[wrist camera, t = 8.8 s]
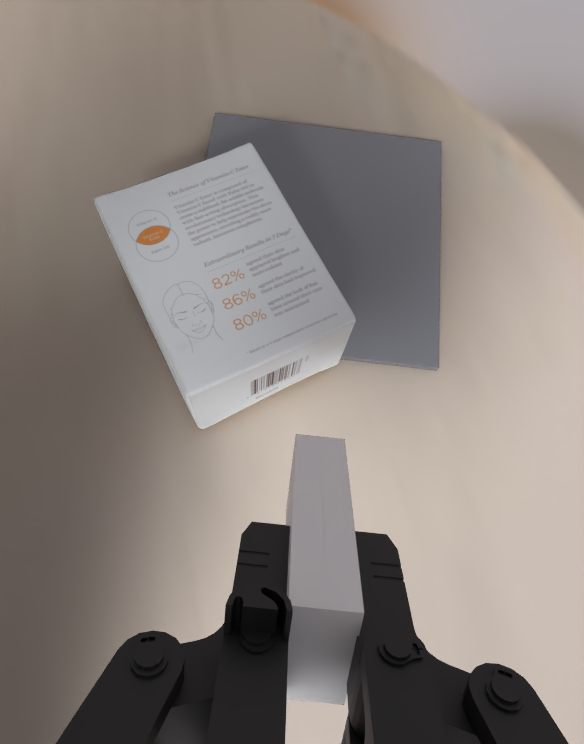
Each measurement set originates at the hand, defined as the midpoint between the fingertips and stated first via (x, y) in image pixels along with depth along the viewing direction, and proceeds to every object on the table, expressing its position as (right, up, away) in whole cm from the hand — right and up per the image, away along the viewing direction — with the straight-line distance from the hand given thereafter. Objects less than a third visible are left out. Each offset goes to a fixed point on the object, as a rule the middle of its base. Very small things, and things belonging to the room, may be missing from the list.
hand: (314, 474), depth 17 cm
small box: (-1, +3, +8) cm, 8 cm away
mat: (+1, +11, +14) cm, 18 cm away
